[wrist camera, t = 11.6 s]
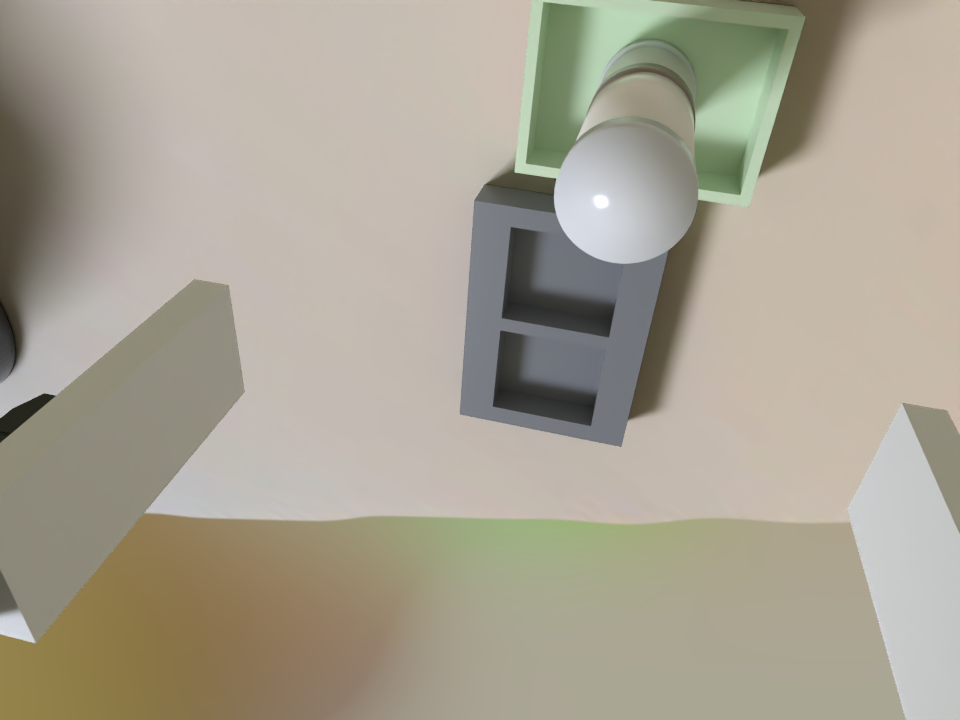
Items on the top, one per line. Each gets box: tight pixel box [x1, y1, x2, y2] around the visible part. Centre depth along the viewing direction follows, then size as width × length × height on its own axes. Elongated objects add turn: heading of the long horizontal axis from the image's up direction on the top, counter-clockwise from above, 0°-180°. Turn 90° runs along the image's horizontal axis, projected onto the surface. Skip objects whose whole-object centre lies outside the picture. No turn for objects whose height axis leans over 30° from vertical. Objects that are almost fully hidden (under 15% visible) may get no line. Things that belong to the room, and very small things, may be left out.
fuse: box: [554, 39, 698, 264], centre depth 28 cm, size 4×4×14 cm
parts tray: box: [514, 0, 806, 207], centre depth 33 cm, size 11×8×3 cm
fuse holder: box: [460, 185, 669, 447], centre depth 41 cm, size 10×14×2 cm
